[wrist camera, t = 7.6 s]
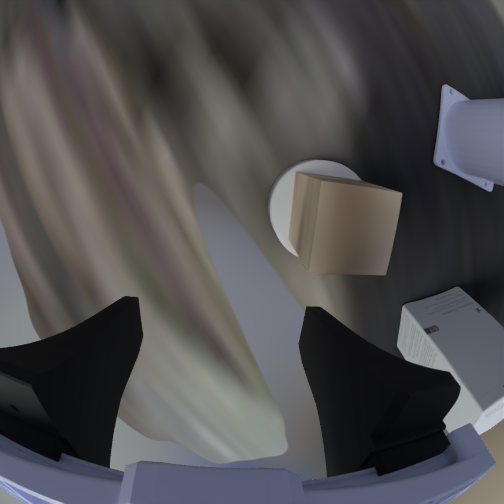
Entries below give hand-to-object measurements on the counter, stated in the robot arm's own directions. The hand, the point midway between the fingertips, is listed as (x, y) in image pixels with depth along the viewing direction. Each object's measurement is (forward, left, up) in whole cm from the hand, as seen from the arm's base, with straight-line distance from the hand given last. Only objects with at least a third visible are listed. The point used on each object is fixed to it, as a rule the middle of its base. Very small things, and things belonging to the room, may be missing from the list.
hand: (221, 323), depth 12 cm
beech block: (-6, -4, -8) cm, 11 cm away
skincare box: (-22, +5, -11) cm, 25 cm away
